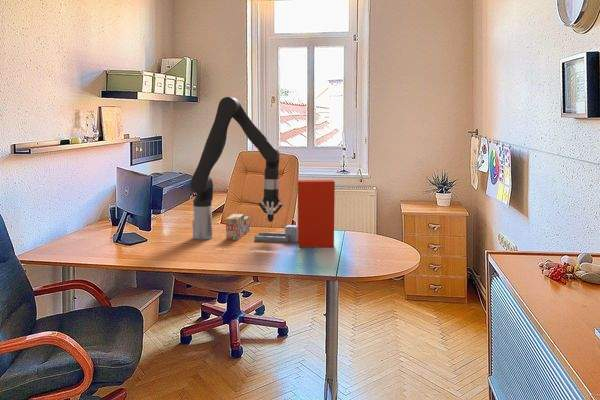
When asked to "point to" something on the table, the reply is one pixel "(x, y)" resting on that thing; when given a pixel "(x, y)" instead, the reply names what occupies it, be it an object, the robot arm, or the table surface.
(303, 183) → the file binder
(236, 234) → the white product box
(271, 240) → the chute
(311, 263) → the table surface
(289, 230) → the block
